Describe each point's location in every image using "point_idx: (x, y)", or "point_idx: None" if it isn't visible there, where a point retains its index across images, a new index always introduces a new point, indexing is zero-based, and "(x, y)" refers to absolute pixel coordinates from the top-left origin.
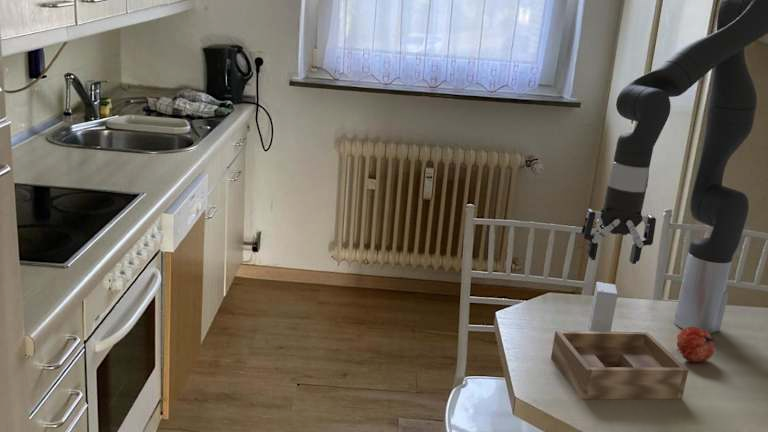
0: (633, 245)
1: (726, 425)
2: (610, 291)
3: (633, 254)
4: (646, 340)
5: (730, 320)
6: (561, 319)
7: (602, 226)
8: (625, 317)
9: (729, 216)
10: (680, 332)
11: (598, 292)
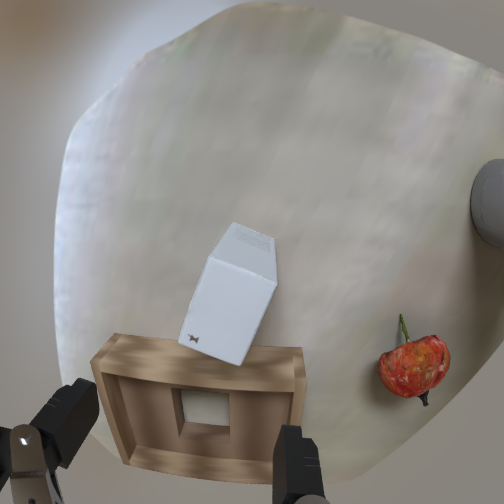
0: (282, 498)
1: None
2: (222, 349)
3: (275, 478)
4: (292, 392)
5: None
6: (193, 150)
7: (37, 501)
8: (379, 140)
9: None
10: (400, 357)
11: (180, 342)
